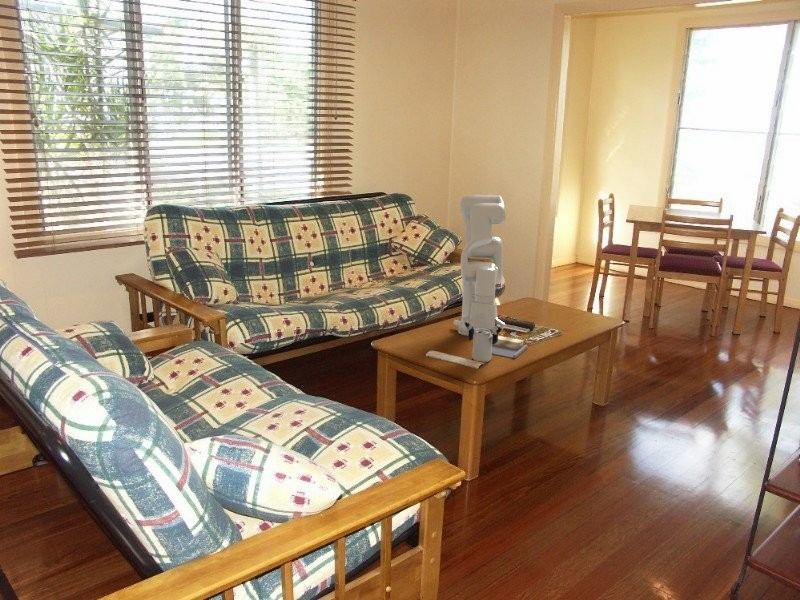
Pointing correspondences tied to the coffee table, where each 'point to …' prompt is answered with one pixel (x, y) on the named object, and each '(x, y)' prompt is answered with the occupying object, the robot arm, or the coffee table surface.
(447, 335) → the coffee table surface
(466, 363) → the newspaper
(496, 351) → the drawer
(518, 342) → the ledge
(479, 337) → the can
